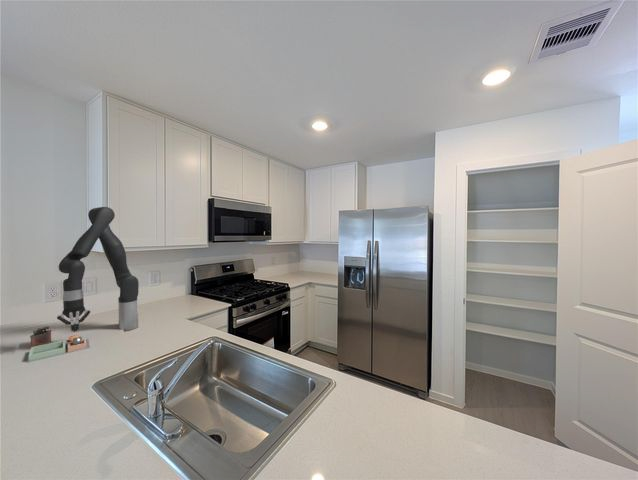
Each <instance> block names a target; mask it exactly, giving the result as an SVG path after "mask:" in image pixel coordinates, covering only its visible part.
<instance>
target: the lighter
mask: <svg viewBox="0 0 638 480" xmlns="http://www.w3.org/2000/svg"><path fill="white" fill-rule="evenodd" d="M32 332H33V334H31V335H30V336H29V338H30V348H31V347H35V346H40V345H44V344H49V343H52V329H50V326H49V325H48V326H44V327H42V328H41V327H40V328H37V329H35V330H33V331H32Z"/></svg>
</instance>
